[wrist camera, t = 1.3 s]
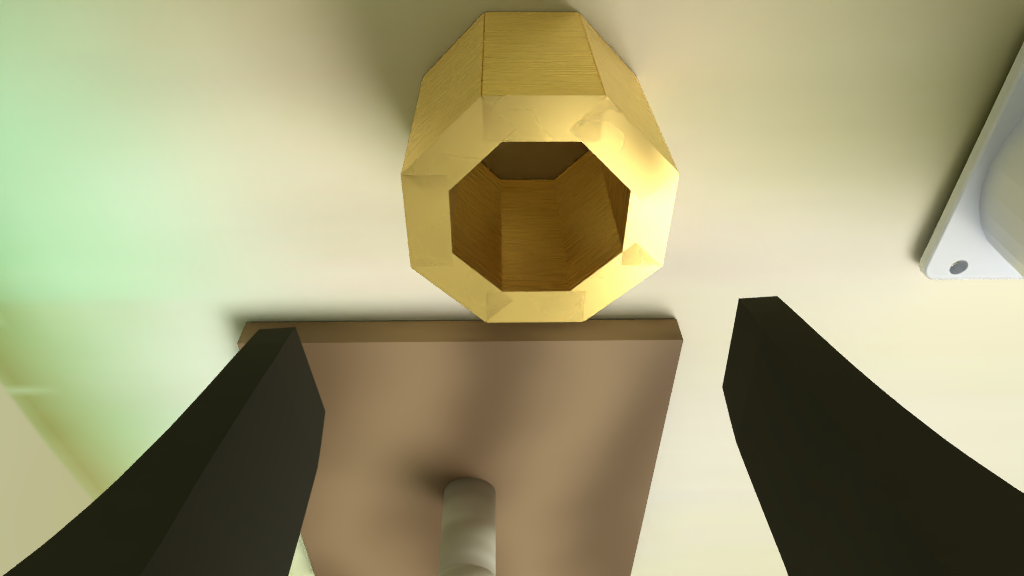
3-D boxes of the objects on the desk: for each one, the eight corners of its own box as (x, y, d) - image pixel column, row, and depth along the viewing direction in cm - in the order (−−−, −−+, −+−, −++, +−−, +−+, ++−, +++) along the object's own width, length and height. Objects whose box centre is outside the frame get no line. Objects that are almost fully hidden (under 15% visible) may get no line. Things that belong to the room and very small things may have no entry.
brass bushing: (644, 12, 16) (693, 95, 12) (620, 207, 19) (652, 321, 15) (417, 11, 16) (392, 95, 12) (432, 207, 19) (416, 323, 15)
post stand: (676, 319, 22) (720, 456, 18) (623, 573, 32) (642, 700, 28) (246, 322, 22) (185, 462, 18) (327, 577, 32) (300, 707, 27)
